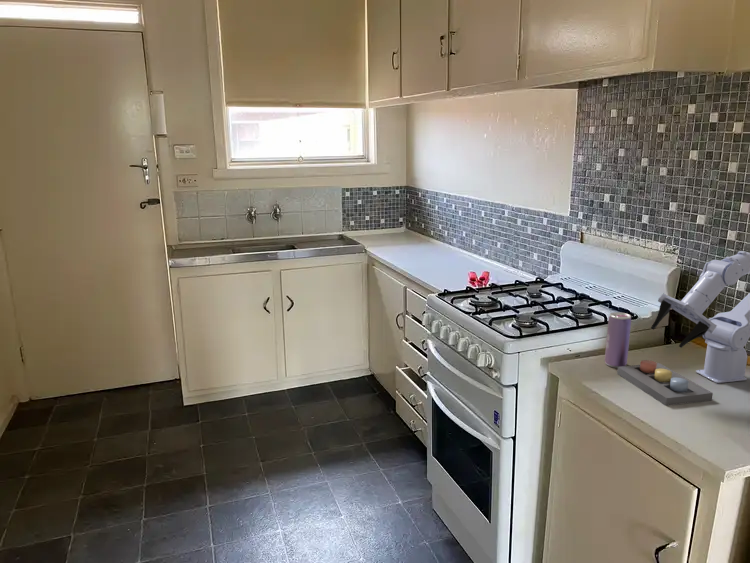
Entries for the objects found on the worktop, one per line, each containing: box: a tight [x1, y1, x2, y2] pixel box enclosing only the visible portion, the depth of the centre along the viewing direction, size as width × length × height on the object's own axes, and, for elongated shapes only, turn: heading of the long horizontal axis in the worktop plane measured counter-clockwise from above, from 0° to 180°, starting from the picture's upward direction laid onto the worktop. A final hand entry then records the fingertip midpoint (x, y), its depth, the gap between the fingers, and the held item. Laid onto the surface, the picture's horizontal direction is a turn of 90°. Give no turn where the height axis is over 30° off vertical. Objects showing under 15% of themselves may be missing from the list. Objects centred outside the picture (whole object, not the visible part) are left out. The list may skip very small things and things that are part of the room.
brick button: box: [639, 359, 658, 373], centre depth 155 cm, size 4×4×2 cm
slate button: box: [670, 378, 689, 392], centre depth 144 cm, size 4×4×2 cm
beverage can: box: [604, 311, 632, 369], centre depth 163 cm, size 6×6×15 cm
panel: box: [616, 362, 714, 406], centre depth 150 cm, size 13×20×2 cm, turn 11°
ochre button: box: [654, 368, 672, 382], centre depth 150 cm, size 4×4×2 cm
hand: (666, 336), depth 144 cm, fingers open, 7 cm apart
